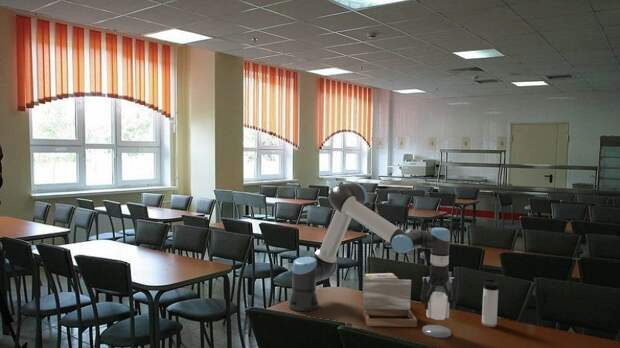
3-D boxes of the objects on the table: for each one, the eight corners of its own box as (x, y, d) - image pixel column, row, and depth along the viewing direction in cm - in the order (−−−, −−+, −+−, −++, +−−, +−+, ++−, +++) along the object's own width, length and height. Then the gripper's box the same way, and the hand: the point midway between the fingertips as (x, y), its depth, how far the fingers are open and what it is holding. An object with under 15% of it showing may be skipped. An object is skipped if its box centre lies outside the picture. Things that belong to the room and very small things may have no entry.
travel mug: (496, 322, 213) (498, 279, 212) (496, 328, 207) (499, 283, 206) (481, 320, 215) (483, 278, 214) (481, 325, 209) (484, 282, 208)
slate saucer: (419, 326, 206) (419, 324, 206) (445, 327, 207) (446, 324, 207) (426, 337, 195) (426, 335, 194) (455, 338, 195) (455, 336, 195)
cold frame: (362, 313, 221) (363, 278, 220) (408, 314, 221) (410, 279, 220) (367, 325, 206) (368, 288, 205) (416, 326, 206) (418, 289, 205)
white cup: (447, 321, 196) (448, 298, 195) (428, 319, 197) (429, 296, 197) (446, 314, 203) (447, 292, 203) (427, 313, 205) (428, 290, 204)
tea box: (391, 300, 241) (392, 272, 240) (398, 307, 231) (399, 277, 230) (363, 301, 239) (364, 272, 238) (368, 308, 229) (369, 278, 228)
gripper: (417, 266, 195) (416, 319, 196) (466, 266, 195) (464, 320, 197) (413, 261, 202) (411, 313, 204) (460, 262, 203) (458, 313, 204)
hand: (437, 316), depth 200 cm, fingers closed on white cup, 7 cm apart
